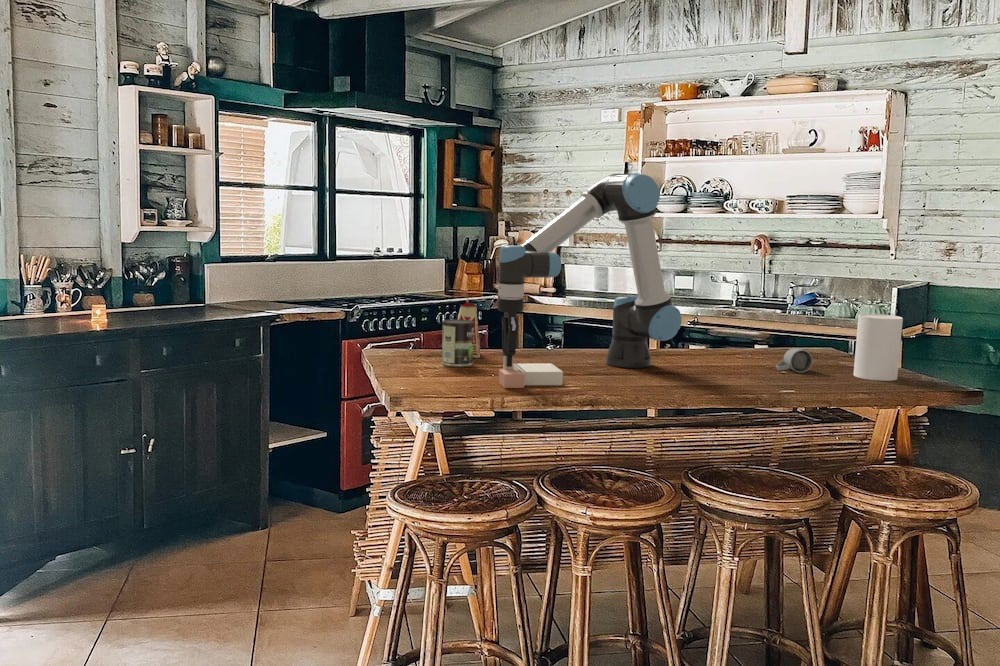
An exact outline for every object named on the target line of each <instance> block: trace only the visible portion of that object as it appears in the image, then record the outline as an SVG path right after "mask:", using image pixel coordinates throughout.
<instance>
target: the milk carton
mask: <svg viewBox="0 0 1000 666" xmlns="http://www.w3.org/2000/svg"><path fill="white" fill-rule="evenodd" d="M469 299H470V298H466V302H465V303H463V304H462V305H461V306H460V308H459V312H458V316H457V319H458V320H470V321H473V322H474V327H473V358H476V359H479V358H480V356H481V346H480V345H481V342H480V341H481V340H480V332H479V322H478V311H477V308H478V307H477V305H474V304H473V303H470V302H469Z"/></svg>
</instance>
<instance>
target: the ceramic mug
mask: <svg viewBox="0 0 1000 666" xmlns="http://www.w3.org/2000/svg"><path fill="white" fill-rule="evenodd" d="M813 361H814V360H813V355H812V354H811V352H809V351H808V350H806V349H801V348H795V347H794V348H790V349H788V350H787V351H786V352H785V353H784V355H783V361H781V362H778V363H777V364H776V365H775V368H776V370H777V371H779V372H780V371H781V372H782V371H786V370H789V369H790V370H792V371H794V372H795V373H800V374H801V373H806V372H808V371H809V370H810V369H811V368H812V366H813Z"/></svg>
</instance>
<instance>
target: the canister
mask: <svg viewBox="0 0 1000 666" xmlns="http://www.w3.org/2000/svg"><path fill="white" fill-rule="evenodd" d="M903 322H904V318H903V317H901V316H898V315H892V314H881V313H859V314H858V318H857V329H856V340H855V353H854V361H853V362H854V365H853V377H855V378H859V379H864V380H871V381H881V382H884V381H887V382H888V381H890V382H892V381H897V380H898V375H899V365H900V364H899V363H900V354H901V342H902V332H903Z"/></svg>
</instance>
